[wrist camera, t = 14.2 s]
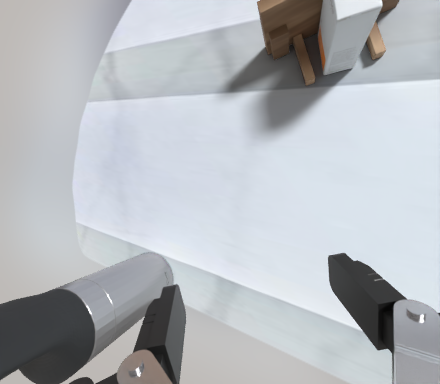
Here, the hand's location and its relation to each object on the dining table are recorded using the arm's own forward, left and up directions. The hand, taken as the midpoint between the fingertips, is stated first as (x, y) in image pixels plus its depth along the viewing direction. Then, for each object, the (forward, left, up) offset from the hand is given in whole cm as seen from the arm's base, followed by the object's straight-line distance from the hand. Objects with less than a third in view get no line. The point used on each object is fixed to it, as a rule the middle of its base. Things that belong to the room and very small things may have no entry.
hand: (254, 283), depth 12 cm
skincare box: (+8, +25, -25) cm, 37 cm away
